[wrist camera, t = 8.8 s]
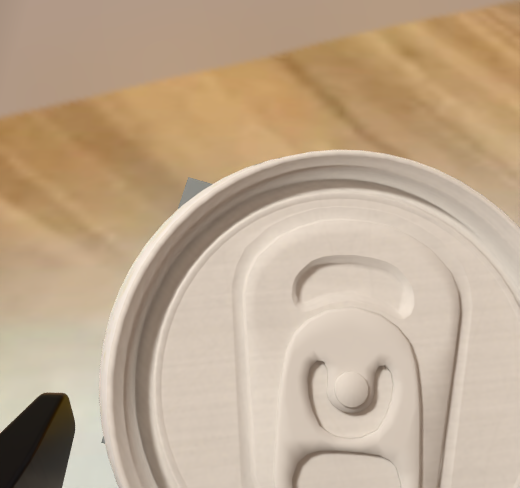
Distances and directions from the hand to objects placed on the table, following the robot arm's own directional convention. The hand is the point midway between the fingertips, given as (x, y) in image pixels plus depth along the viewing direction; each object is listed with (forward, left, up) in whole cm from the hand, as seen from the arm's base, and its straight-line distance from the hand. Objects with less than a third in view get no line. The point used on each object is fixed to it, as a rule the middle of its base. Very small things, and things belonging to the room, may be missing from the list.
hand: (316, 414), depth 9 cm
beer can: (+1, 0, -11) cm, 11 cm away
